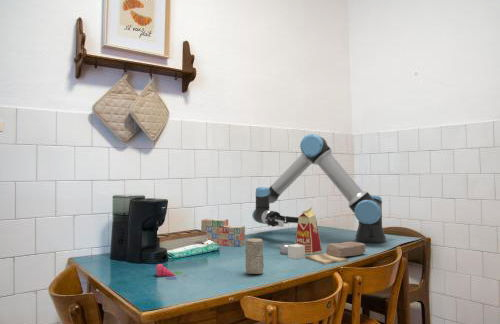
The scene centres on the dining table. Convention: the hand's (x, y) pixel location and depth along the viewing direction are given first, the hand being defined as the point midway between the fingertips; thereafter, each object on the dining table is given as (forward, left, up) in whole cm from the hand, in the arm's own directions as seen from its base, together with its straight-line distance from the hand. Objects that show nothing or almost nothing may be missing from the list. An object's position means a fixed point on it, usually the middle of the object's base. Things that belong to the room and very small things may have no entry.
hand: (295, 223), depth 177 cm
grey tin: (+10, +8, -12) cm, 18 cm away
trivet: (+2, +25, -12) cm, 27 cm away
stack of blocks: (+26, -26, -12) cm, 38 cm away
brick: (-10, +23, -11) cm, 28 cm away
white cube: (+10, +16, -12) cm, 22 cm away
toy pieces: (+64, +19, -12) cm, 68 cm away
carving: (+38, +30, -12) cm, 50 cm away
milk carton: (0, +10, -12) cm, 15 cm away
